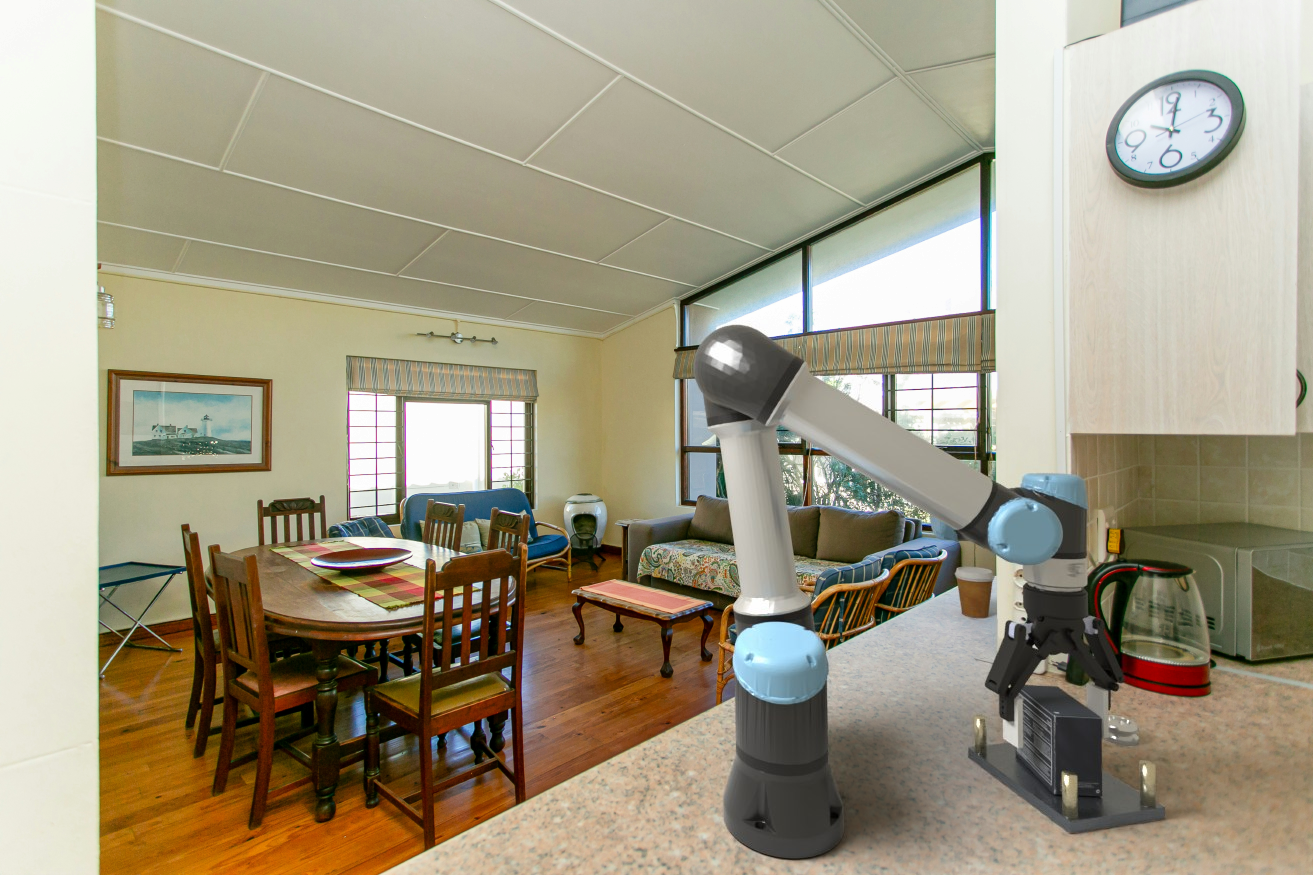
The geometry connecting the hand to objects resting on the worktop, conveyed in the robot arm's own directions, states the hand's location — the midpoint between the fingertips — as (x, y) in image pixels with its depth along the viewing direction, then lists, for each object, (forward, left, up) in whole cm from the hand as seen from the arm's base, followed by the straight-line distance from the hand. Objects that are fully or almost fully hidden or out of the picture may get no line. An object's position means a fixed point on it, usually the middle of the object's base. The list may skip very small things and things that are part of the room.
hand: (1055, 738), depth 84 cm
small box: (0, 0, -5) cm, 5 cm away
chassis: (0, 0, -6) cm, 7 cm away
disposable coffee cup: (+44, +72, -7) cm, 85 cm away
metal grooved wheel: (+20, +9, -7) cm, 23 cm away
